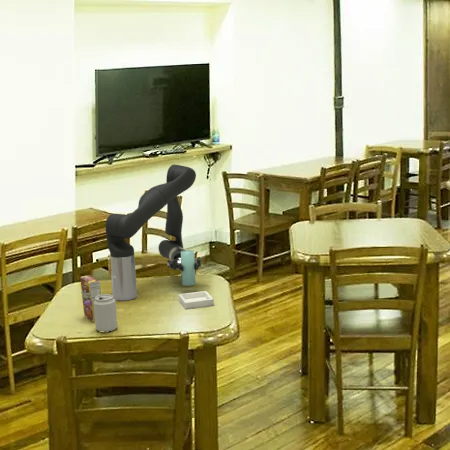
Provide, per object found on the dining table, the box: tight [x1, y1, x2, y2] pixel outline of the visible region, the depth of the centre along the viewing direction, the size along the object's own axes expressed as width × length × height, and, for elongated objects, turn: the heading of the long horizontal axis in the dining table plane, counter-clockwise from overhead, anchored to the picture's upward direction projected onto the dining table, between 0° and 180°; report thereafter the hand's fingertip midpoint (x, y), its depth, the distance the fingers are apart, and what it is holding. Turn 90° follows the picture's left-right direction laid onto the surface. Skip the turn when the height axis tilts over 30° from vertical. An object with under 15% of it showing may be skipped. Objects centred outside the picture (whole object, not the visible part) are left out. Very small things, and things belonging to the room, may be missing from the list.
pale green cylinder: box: [181, 249, 196, 286], centre depth 302 cm, size 5×5×13 cm
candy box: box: [79, 274, 102, 323], centre depth 277 cm, size 9×4×15 cm, turn 33°
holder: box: [178, 290, 215, 310], centre depth 291 cm, size 11×11×2 cm
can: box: [94, 293, 118, 333], centre depth 266 cm, size 8×8×12 cm
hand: (189, 268), depth 299 cm, fingers closed on pale green cylinder, 5 cm apart
